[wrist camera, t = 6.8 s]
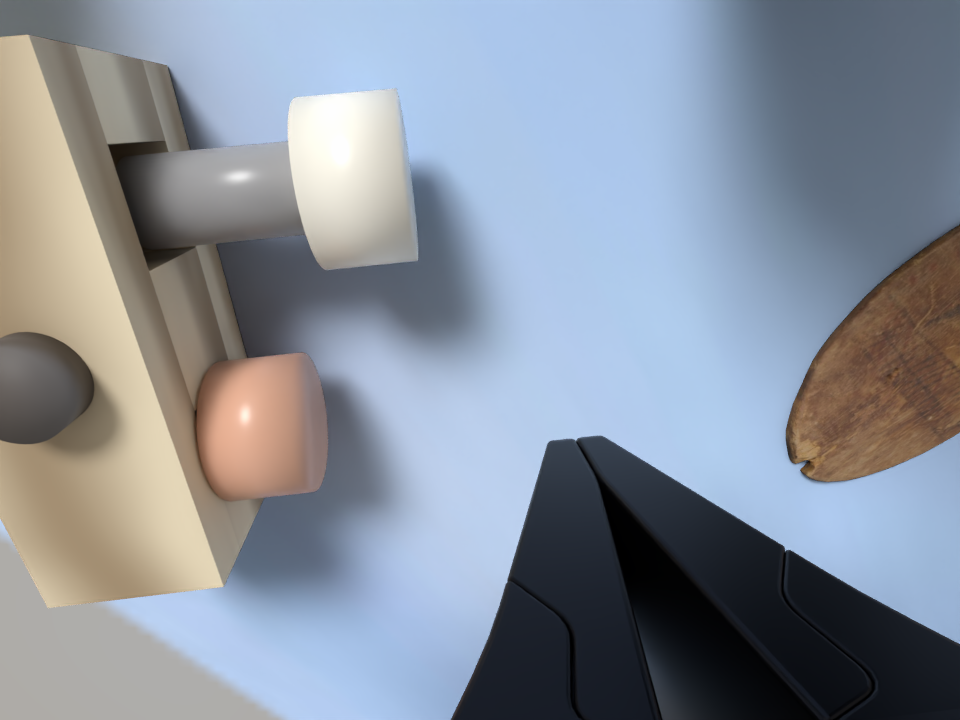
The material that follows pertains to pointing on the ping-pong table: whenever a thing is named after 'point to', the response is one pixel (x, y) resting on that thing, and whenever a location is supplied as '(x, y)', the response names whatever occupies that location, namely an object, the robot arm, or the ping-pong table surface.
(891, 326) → the paddle
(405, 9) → the ping-pong table surface
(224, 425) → the knob
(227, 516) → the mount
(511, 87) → the ping-pong table surface
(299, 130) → the knob
